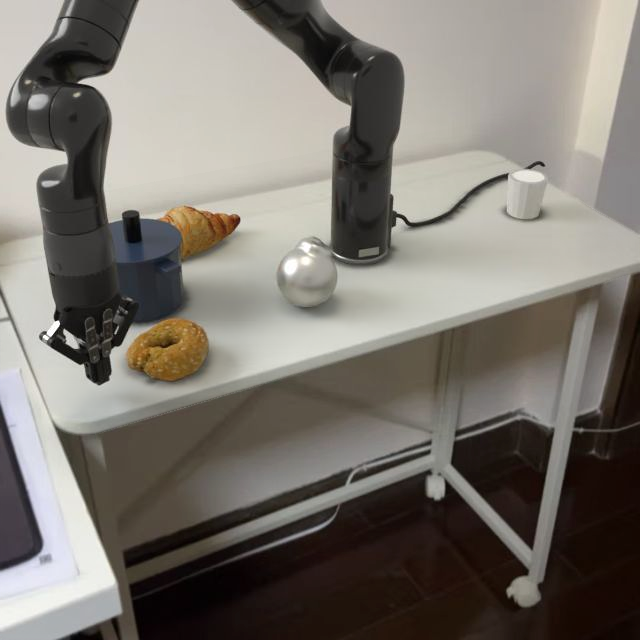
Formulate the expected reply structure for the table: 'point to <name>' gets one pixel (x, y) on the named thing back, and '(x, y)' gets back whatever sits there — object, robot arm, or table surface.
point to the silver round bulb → (307, 273)
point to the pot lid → (143, 239)
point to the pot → (153, 286)
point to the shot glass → (525, 193)
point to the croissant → (200, 228)
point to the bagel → (169, 349)
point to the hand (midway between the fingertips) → (99, 380)
